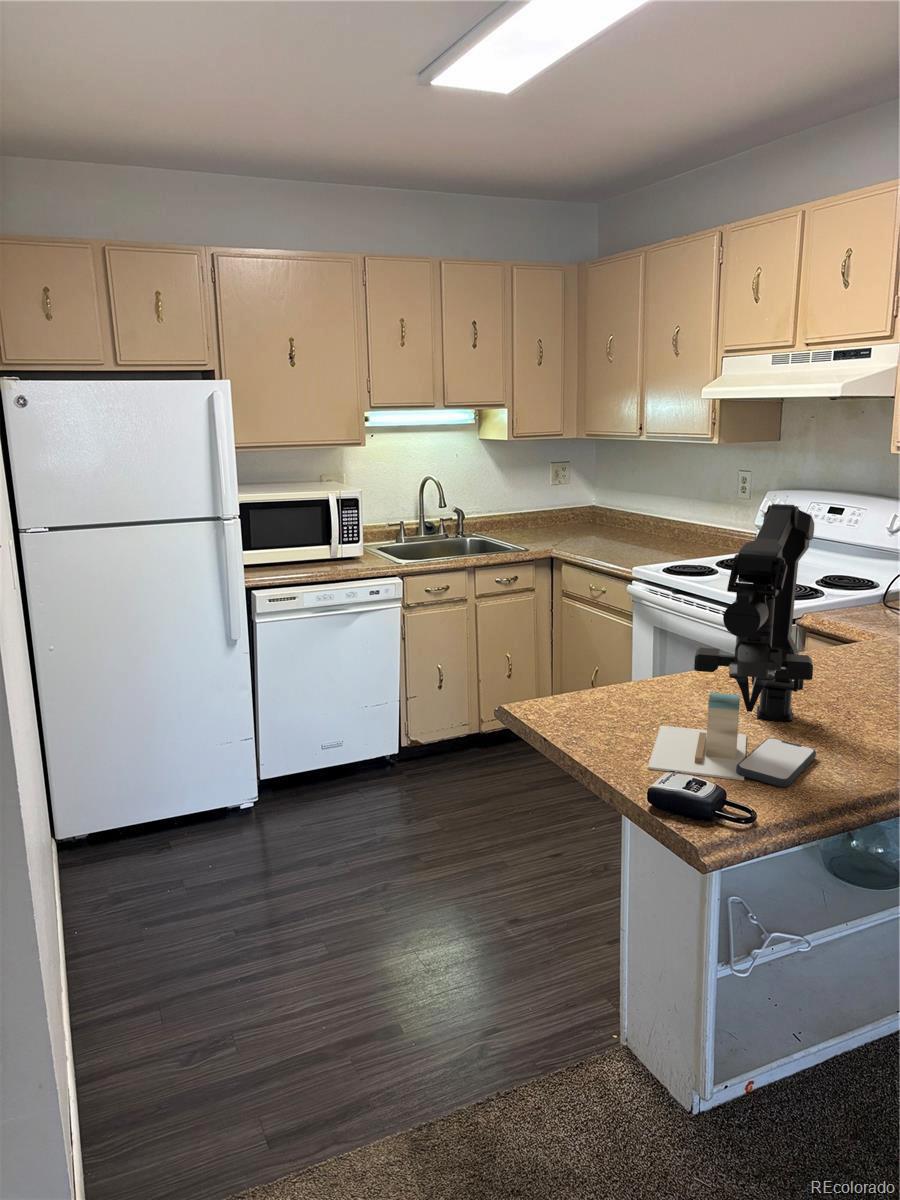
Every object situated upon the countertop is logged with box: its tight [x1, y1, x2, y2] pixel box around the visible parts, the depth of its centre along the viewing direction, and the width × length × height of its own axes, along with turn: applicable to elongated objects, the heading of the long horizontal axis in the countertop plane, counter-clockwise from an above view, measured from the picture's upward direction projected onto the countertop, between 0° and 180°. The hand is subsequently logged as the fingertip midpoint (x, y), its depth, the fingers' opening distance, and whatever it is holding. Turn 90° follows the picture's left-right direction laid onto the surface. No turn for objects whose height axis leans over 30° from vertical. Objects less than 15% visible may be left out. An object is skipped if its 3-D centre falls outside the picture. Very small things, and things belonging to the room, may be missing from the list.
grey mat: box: [647, 725, 747, 782], centre depth 152 cm, size 20×16×1 cm
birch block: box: [706, 692, 741, 760], centre depth 150 cm, size 5×5×10 cm
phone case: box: [736, 737, 817, 788], centre depth 145 cm, size 9×2×16 cm
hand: (749, 711), depth 148 cm, fingers closed
